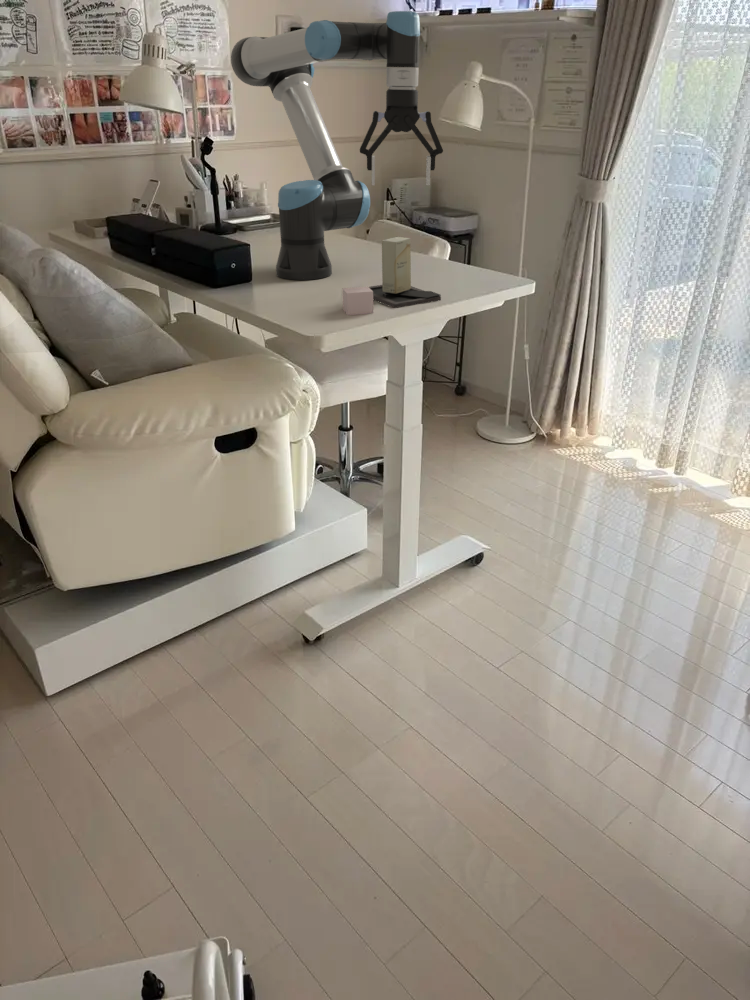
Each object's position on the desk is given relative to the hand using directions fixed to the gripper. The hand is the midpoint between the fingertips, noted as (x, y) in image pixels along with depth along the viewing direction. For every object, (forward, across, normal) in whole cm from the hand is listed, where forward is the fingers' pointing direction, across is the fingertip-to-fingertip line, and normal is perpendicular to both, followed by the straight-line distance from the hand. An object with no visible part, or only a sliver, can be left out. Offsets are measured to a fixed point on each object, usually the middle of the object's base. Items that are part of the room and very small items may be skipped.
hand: (400, 184), depth 196 cm
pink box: (+24, -11, -29) cm, 39 cm away
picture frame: (+24, -1, -16) cm, 29 cm away
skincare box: (+22, -1, -16) cm, 27 cm away
